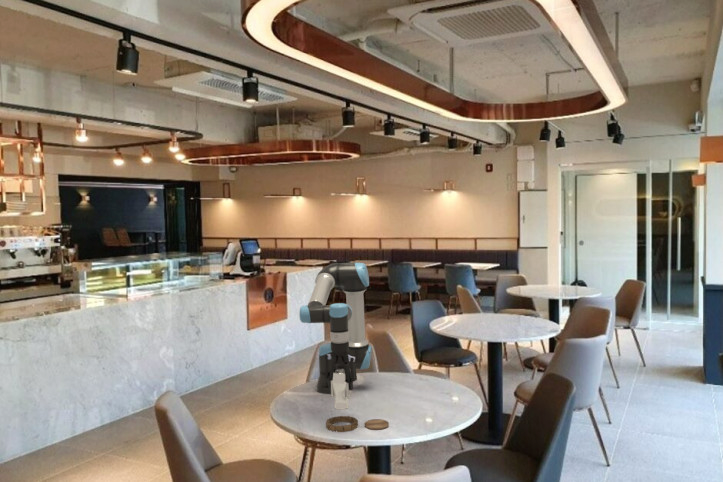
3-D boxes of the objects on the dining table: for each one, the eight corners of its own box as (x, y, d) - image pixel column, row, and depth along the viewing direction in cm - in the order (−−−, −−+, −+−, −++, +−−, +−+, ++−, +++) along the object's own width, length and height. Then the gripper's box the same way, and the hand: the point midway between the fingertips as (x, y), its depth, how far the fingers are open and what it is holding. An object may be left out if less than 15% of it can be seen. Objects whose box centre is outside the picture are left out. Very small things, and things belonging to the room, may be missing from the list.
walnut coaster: (360, 423, 241) (360, 421, 241) (382, 420, 244) (382, 417, 244) (370, 431, 231) (370, 429, 231) (392, 427, 235) (392, 425, 235)
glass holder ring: (322, 423, 242) (321, 419, 242) (350, 418, 247) (350, 414, 247) (332, 433, 230) (332, 428, 230) (362, 428, 235) (362, 423, 235)
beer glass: (329, 407, 239) (328, 371, 238) (342, 403, 243) (341, 368, 243) (341, 411, 234) (339, 374, 233) (353, 407, 238) (352, 371, 238)
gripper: (314, 341, 239) (316, 396, 240) (356, 345, 229) (357, 402, 230) (324, 337, 245) (325, 391, 246) (364, 341, 236) (366, 396, 237)
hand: (341, 396), depth 238 cm, fingers closed on beer glass, 7 cm apart
